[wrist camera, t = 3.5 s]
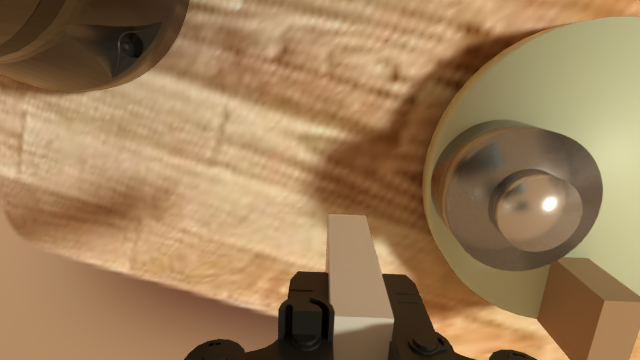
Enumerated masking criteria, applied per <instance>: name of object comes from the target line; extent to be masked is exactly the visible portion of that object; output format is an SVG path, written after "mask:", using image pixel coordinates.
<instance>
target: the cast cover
mask: <svg viewBox="0 0 640 360" xmlns="http://www.w3.org/2000/svg"><path fill="white" fill-rule="evenodd" d="M431 197H432V202H433V205H434V207H435V210H436V212H437V214H438V215H439V217H440V218H441V220H442V221H443V222H444V224H445V225H446V226H447V227H448V229H449V230H450V231H451V233H452V234H453V235H454V237H455V238H456V239H457V241H458V242H459V243H460V245H461V246H462V247H463V248H464V250H465V251H466V252H467V253H468V254H469V255H470V256H471V257H473V258H474V259H476V260H477V261H478V262H480V263H482V264H484V265H486V266H489V267H492V268H495V269H499V270H504V271H526V270H532V269H537V268H540V267H543V266H546V265H549V264H551V263H553V262H555V261H557V260H559V259H561V258H562V257H564V256H565V255H567V254H568V253H569V252H571V251H572V250H573V249H575V248H576V247H577V246H578V245H579V244H580V243H581V242H582V241H583V239H584V238H585V237H586V236H587V234H588V233H589V232H590V230H591V228H592V227H593V225H594V223H595V221H596V219H597V217H598V214H599V211H600V208H601V203H602V197H603V184H602V178H601V173H600V170H599V168H598V165H597V163H596V161H595V160H594V158H593V157H592V155H591V154H590V153H589V152H588V151H587V149H586V148H585V147H583V146H582V145H581V144H580V143H578V142H577V141H575V140H574V139H572V138H570V137H568V136H565V135H563V134H560V133H556V132H553V131H550V130H546V129H543V128H539V127H536V126H532V125H529V124H526V123H522V122H518V121H514V120H492V121H486V122H483V123H479V124H477V125H475V126H472V127H470V128H468V129H467V130H465V131H463V132H462V133H460V134H459V135H458V136H456V137H455V138H454V139H453V140H452V141H451V142H450V143H449V144H448V145H447V146H446V147H445V149H444V150H443V151H442V153H441V154H440V156H439V158H438V160H437V162H436V164H435V167H434V170H433V173H432V178H431Z"/></svg>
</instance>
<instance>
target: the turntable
mask: <svg viewBox="0 0 640 360" xmlns="http://www.w3.org/2000/svg"><path fill="white" fill-rule="evenodd" d="M492 120H514V121H518V122H522V123H526V124H529V125H532V126H536V127H539V128H543V129H546V130H550V131H553V132H556V133H560V134H563V135H565V136H568V137H570V138H572V139H574V140H575V141H577V142H578V143H580V144H581V145H582V146H583V147H585V148H586V149H587V151H588V152H589V153H590V154H591V155H592V157H593V158H594V160H595V161H596V163H597V165H598V168H599V170H600V173H601V178H602V184H603V197H602V203H601V208H600V211H599V214H598V217H597V219H596V221H595V223H594V225H593V227H592V228H591V230H590V232H589V233H588V234H587V236H586V237H585V238H584V239H583V241H582V242H581V243H580V244H579V245H578V246H577V247H576V248H575V249H573V250H572V251H571V252H569V253H568V254H567V255H565V256H564V257H562V258H561V259H559V260H557V261H555V262H553V263H551V264H549V265H546V266H543V267H540V268H537V269H532V270H526V271H504V270H499V269H495V268H492V267H489V266H486V265H484V264H482V263H480V262H478V261H477V260H476V259H474V258H473V257H471V256H470V255H469V254H468V253H467V252H466V251H465V250H464V248H463V247H462V246H461V245H460V243H459V242H458V241H457V239H456V238H455V237H454V235H453V234H452V233H451V231H450V230H449V229H448V227H447V226H446V225H445V224H444V222H443V221H442V220H441V218H440V217H439V215H438V214H437V212H436V210H435V207H434V205H433V202H432V197H431V178H432V173H433V170H434V167H435V164H436V162H437V160H438V158H439V156H440V154H441V153H442V151H443V150H444V149H445V147H446V146H447V145H448V144H449V143H450V142H451V141H452V140H453V139H454V138H455V137H456V136H458V135H459V134H460V133H462V132H463V131H465V130H467V129H468V128H470V127H472V126H475V125H477V124H479V123H483V122H486V121H492ZM422 194H423V205H424V211H425V215H426V220H427V224H428V226H429V229H430V231H431V234H432V237H433V239H434V241H435V243H436V244H437V246H438V248H439V249H440V251H441V253H442V255H443V256H444V258H445V259H446V261H447V263H448V264H449V266H450V267H451V269H452V270H453V271H454V272H455V274H456V275H457V276H458V277H459V279H460V280H461V281H462V282H463V283H464V284H465V285H466V286H467V287H469V288H470V289H471V290H472V291H473V292H474V293H476V294H477V295H479V296H480V297H481V298H483V299H484V300H486V301H487V302H489V303H491V304H493V305H495V306H497V307H499V308H501V309H503V310H506V311H509V312H512V313H514V314H517V315H521V316H526V317H530V318H535V319H537V320H538V322H539V323H540V324H541V325H542V326H543V328H544V329H545V330H546V331H547V332H548V334H549V335H550V336H551V337H552V338H553V340H554V341H555V342H556V343H557V344H558V346H559V347H560V348H561V349H562V350H563V352H564V353H565V354H566V355H567V356H568V358H569V359H570V360H629V359H630V356H631V353H632V350H633V347H634V344H635V341H636V338H637V335H638V332H639V329H640V17H633V16H629V17H606V18H600V19H594V20H587V21H581V22H575V23H569V24H563V25H560V26H557V27H553V28H550V29H547V30H543V31H540V32H538V33H536V34H534V35H531V36H529V37H527V38H524V39H522V40H520V41H518V42H517V43H515V44H513V45H512V46H510V47H508V48H507V49H505V50H503V51H502V52H500V53H499V54H497V55H496V56H495V57H494V58H492V59H491V60H490V61H488V62H487V63H486V64H484V65H483V66H482V67H481V68H480V69H479V70H478V71H477V72H476V73H475V74H474V75H473V76H472V77H471V78H470V79H469V80H468V81H467V82H466V83H465V84H464V85H463V86H462V88H461V89H460V90H459V91H458V93H457V94H456V95H455V96H454V98H453V99H452V101H451V102H450V104H449V105H448V107H447V108H446V110H445V112H444V113H443V115H442V116H441V118H440V121H439V123H438V125H437V127H436V129H435V131H434V133H433V136H432V139H431V142H430V145H429V148H428V151H427V154H426V160H425V165H424V170H423V184H422Z"/></svg>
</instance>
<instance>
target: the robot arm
mask: <svg viewBox="0 0 640 360" xmlns="http://www.w3.org/2000/svg"><path fill="white" fill-rule="evenodd" d="M188 4H189V0H0V75H3V76H5V77H8V78H11V79H14V80H16V81H19V82H22V83H25V84H28V85H31V86H34V87H38V88H43V89H48V90H55V91H65V92H80V91H91V90H100V89H107V88H112V87H116V86H119V85H122V84H125V83H128V82H130V81H132V80H134V79H136V78H138V77H140V76H141V75H143V74H145V73H146V72H147V71H149V70H150V69H151V68H153V67H154V66H155V65H156V64H157V63H158V62H159V61H160V60H161V59H162V58H163V57H164V56H165V54H166V53H167V52H168V51H169V49H170V48H171V46H172V45H173V43H174V42H175V40H176V38H177V36H178V34H179V32H180V30H181V27H182V25H183V22H184V19H185V17H186V13H187V9H188ZM184 360H475V359H471V358H468V357H465V356H462V355H459V354H457V353H456V352H454V350H453V348H452V346H451V344H450V343H449V342H448V340H447V339H446V338H445V337H443V336H442V335H441V334H439V333H437V332H435V330H434V328H433V325H432V323H431V321H430V318H429V316H428V313H427V311H426V309H425V306H424V304H423V301H422V299H421V297H420V295H419V292H418V290H417V287H416V285H415V283H414V282H413V281H412V280H410V279H409V278H408V277H407V276H406V275H400V274H382V273H381V269H380V266H379V262H378V259H377V255H376V251H375V248H374V244H373V240H372V237H371V233H370V230H369V226H368V222H367V219H366V215H345V214H328V230H327V249H326V269H325V272H302V271H298V272H297V273H296V274H295V275H294V276H293V277H292V279H291V280H290V286H289V293H288V299H287V300H286V301H284V302H283V303H282V304H281V306H280V308H279V315H278V339H277V340H276V341H275V342H274V343H273V344H271V345H269V346H267V347H265V348H262V349H259V350H255V351H251V352H245V351H244V349H243V348H242V347H241V346H240V345H239V344H238V343H236V342H233V341H231V340H223V339H217V340H212V341H207V342H205V343H203V344H201V345H199V346H197V347H196V348H195V349H194V350H192V351H191V352H190V353H189V354H188V356H187V357H186V358H185V359H184ZM489 360H537V359H535V358H533V357H531V356H529V355H527V354H525V353H522V352H518V351H514V350H499V351H496V352H494V353H493V354H492V355H491V356H490V358H489Z"/></svg>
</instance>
